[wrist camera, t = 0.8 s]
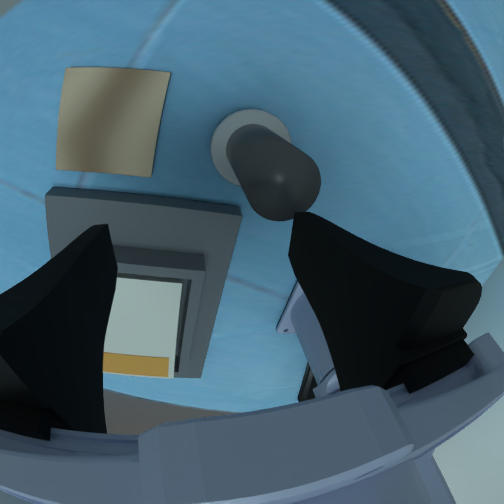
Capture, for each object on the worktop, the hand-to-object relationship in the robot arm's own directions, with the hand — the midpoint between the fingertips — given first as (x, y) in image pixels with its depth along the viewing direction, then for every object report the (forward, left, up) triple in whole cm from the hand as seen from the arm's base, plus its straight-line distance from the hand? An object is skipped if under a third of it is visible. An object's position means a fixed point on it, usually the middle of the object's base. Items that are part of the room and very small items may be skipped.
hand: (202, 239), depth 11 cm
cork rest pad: (+6, -3, -10) cm, 12 cm away
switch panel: (+3, +12, -10) cm, 16 cm away
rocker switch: (+3, +12, -6) cm, 14 cm away
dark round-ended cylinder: (-3, -3, -10) cm, 10 cm away
